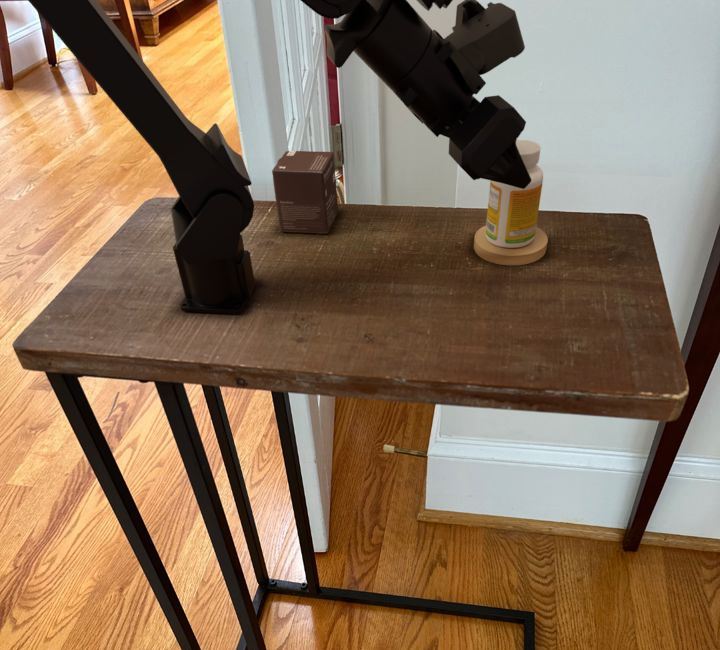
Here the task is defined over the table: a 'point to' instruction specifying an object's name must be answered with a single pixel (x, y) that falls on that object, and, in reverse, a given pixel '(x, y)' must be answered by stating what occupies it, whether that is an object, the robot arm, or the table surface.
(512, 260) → the coaster
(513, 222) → the supplement bottle
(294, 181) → the box
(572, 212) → the table surface
